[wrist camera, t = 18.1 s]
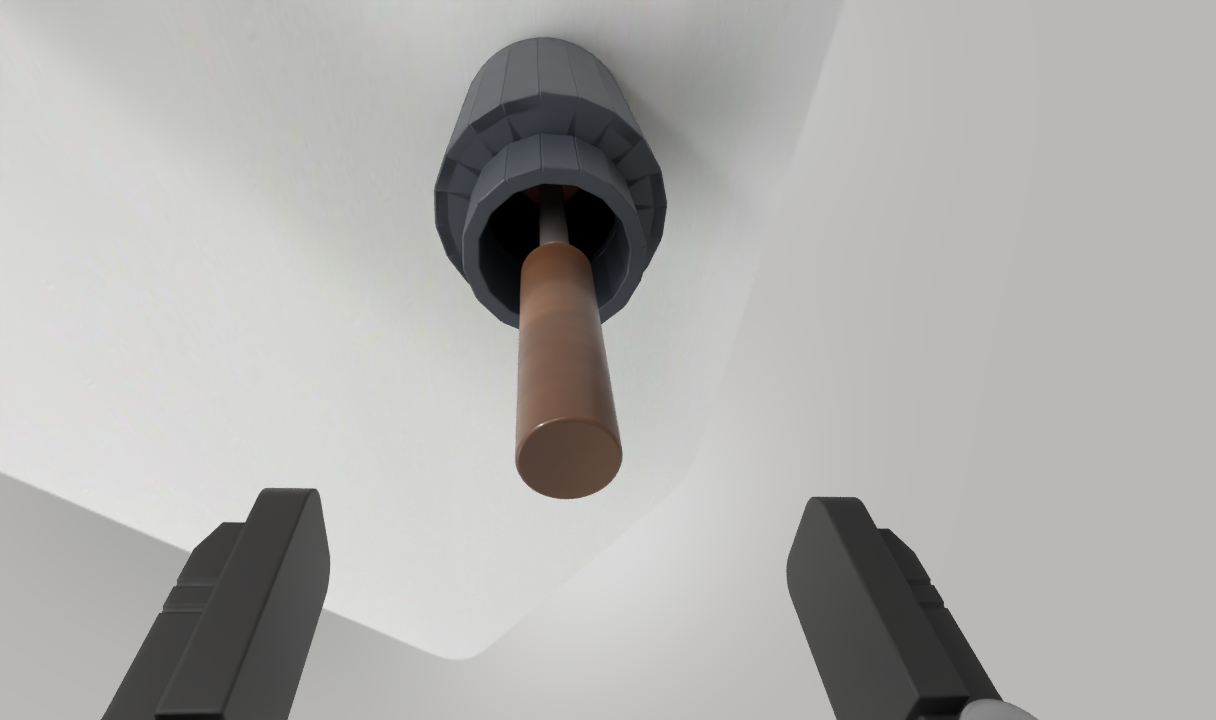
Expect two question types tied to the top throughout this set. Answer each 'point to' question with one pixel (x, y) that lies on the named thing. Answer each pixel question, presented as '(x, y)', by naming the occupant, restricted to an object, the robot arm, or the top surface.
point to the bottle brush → (562, 365)
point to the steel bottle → (547, 175)
